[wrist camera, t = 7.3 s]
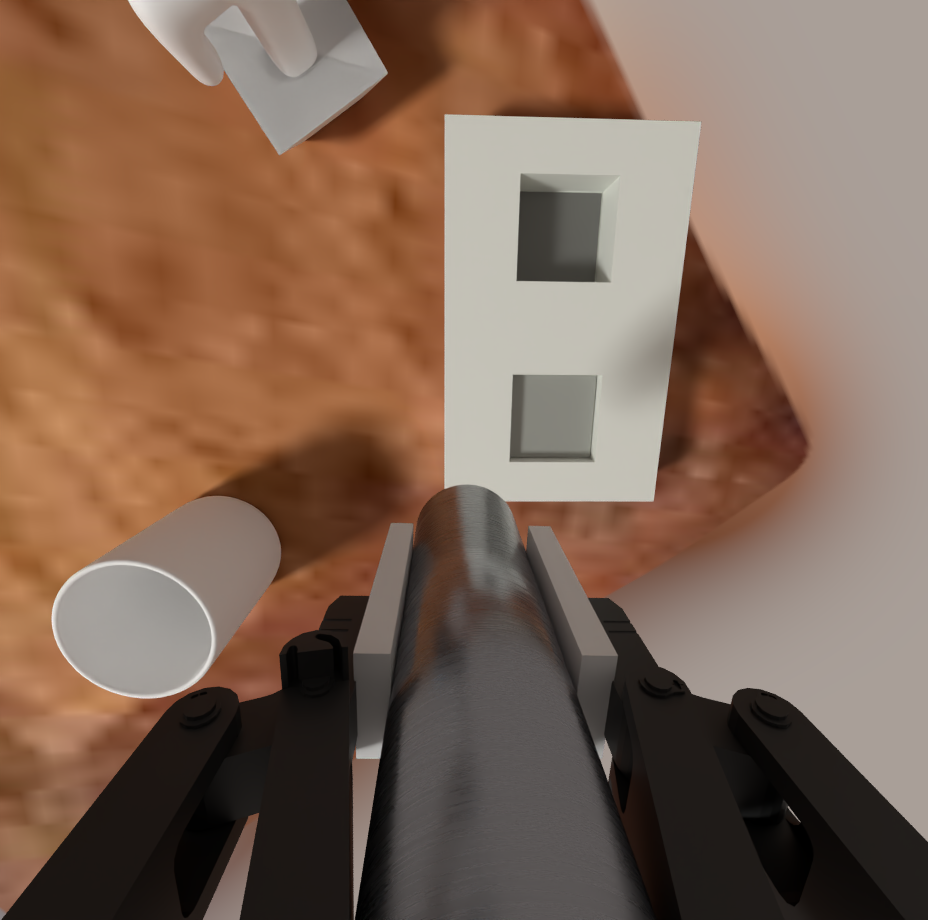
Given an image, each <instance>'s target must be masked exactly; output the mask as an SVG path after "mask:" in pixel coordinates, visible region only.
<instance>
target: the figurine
mask: <svg viewBox="0 0 928 920" xmlns="http://www.w3.org/2000/svg"><path fill="white" fill-rule="evenodd" d="M128 1H129V3H130V5H131V6H132V8H133V10H134V11H135V13H136V14H137V16H138V17H139V18H140V20H141V21H142V22H143V24H144V25H145V26H146V27H147V28H148V30H149V31H150V32H151V33H152V34H153V35H154V36H155V37H156V39H157V40H158V41H159V42H160V43H161V44H162V45H163V46H164V47H165V48H166V49H167V50H168V51H169V52H170V53H171V54H172V55H173V56H174V57H175V58H176V59H177V60H178V61H179V62H180V63H181V64H182V65H183V66H184V67H185V68H186V69H187V70H188V71H189V72H190V73H191V74H192V75H193V76H194V77H195V78H196V79H197V80H198V81H200V82H202V83H203V84H205V85H208V86H216V85H218V84H219V83H220V82H221V80H222V79H223V71H225V73H226V74H227V76H228V77H229V79H230V80H231V82H232V83H233V85H234V86H235V88H236V89H237V91H238V92H239V94H240V96H241V97H242V99H243V100H244V102H245V103H246V105H247V106H248V108H249V109H250V111H251V112H252V114H253V115H254V117H255V119H256V120H257V122H258V123H259V125H260V126H261V128H262V129H263V131H264V132H265V134H266V135H267V137H268V139H269V140H270V142H271V143H272V145H273V146H274V148H275V149H276V151H277V152H278V154H279V155H281V154H283V153H284V152H286V151H288V150H290V149H292V148H293V147H295V146H297V145H299V144H300V143H302V142H304V141H306V140H307V139H308V138H310V137H311V136H312V135H314V134H315V133H316V132H318V131H319V130H320V129H322V128H323V127H324V126H326V125H327V124H328V123H330V122H331V121H332V120H333V119H335V118H336V117H337V116H339V115H340V114H341V113H343V112H344V111H345V110H347V109H348V108H349V107H351V106H352V105H353V104H355V103H356V102H357V101H359V100H360V99H361V98H363V97H364V96H365V95H366V94H367V93H368V92H369V91H370V90H371V89H372V88H373V87H374V86H375V85H376V84H377V83H378V82H380V81H381V80H382V79H383V78H384V77H385V76H386V75H387V74H388V72H387V70H386V68H385V67H384V65H383V63H382V61H381V60H380V58H379V56H378V54H377V53H376V51H375V49H374V47H373V46H372V44H371V42H370V40H369V39H368V37H367V35H366V33H365V32H364V30H363V28H362V26H361V25H360V23H359V21H358V19H357V18H356V16H355V14H354V12H353V10H352V9H351V7H350V5H349V3H348V2H347V0H128ZM223 69H224V70H223Z"/></svg>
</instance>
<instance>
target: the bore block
mask: <svg viewBox="0 0 928 920" xmlns="http://www.w3.org/2000/svg"><path fill="white" fill-rule="evenodd" d="M700 130H701V122H698V121H662V120H661V121H660V120H626V119H590V118H554V117H517V116H481V115H445V489H446V488H449V487H452V486H456V485H466V484H469V485H477V486H481V487H484V488H487V489H489V490H491V491H493V492H494V493H496V494H497V495H499V496H500V497H501V498H502V499H503V500H504V501H654V493H655V485H656V477H657V469H658V461H659V454H660V446H661V438H662V430H663V422H664V414H665V406H666V398H667V390H668V383H669V375H670V367H671V359H672V351H673V343H674V335H675V327H676V319H677V312H678V304H679V296H680V288H681V280H682V272H683V264H684V256H685V249H686V241H687V233H688V225H689V217H690V209H691V200H692V193H693V185H694V177H695V170H696V162H697V154H698V146H699V138H700Z"/></svg>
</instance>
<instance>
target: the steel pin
mask: <svg viewBox="0 0 928 920" xmlns="http://www.w3.org/2000/svg"><path fill="white" fill-rule="evenodd" d="M355 920H657V918H656V915H655V912H654V910H653V907H652V904H651V901H650V898H649V895H648V893H647V890H646V887H645V884H644V881H643V879H642V876H641V873H640V870H639V867H638V865H637V862H636V859H635V856H634V853H633V851H632V848H631V845H630V842H629V839H628V837H627V834H626V831H625V828H624V825H623V823H622V820H621V817H620V814H619V811H618V809H617V806H616V803H615V800H614V797H613V795H612V792H611V789H610V786H609V783H608V781H607V778H606V775H605V772H604V769H603V767H602V764H601V761H600V758H599V755H598V752H597V750H596V747H595V744H594V741H593V738H592V736H591V733H590V730H589V727H588V724H587V722H586V719H585V716H584V713H583V710H582V708H581V705H580V702H579V699H578V696H577V694H576V691H575V688H574V685H573V682H572V680H571V677H570V674H569V671H568V668H567V666H566V663H565V660H564V657H563V654H562V652H561V649H560V646H559V643H558V640H557V638H556V635H555V632H554V629H553V626H552V624H551V621H550V618H549V615H548V612H547V609H546V607H545V604H544V601H543V598H542V595H541V593H540V590H539V587H538V584H537V581H536V579H535V576H534V573H533V570H532V567H531V565H530V562H529V559H528V556H527V553H526V551H525V548H524V545H523V542H522V539H521V537H520V534H519V531H518V528H517V525H516V523H515V520H514V517H513V514H512V512H511V510H510V508H509V506H508V505H507V504H506V502H505V501H504V500H503V499H502V498H501V497H500V496H499V495H497V494H496V493H494V492H493V491H491V490H489V489H487V488H484V487H481V486H477V485H469V484H466V485H456V486H452V487H449V488H446V489H444V490H442V491H440V492H439V493H437V494H436V495H434V496H433V497H432V498H431V499H430V500H429V501H428V502H427V503H426V504H425V506H424V507H423V509H422V510H421V512H420V515H419V517H418V521H417V526H416V532H415V539H414V545H413V554H412V560H411V566H410V573H409V579H408V586H407V592H406V599H405V605H404V612H403V618H402V625H401V631H400V637H399V644H398V650H397V657H396V663H395V670H394V676H393V683H392V689H391V695H390V699H389V705H388V711H387V717H386V724H385V730H384V737H383V743H382V749H381V756H380V763H379V769H378V775H377V781H376V788H375V794H374V800H373V807H372V813H371V820H370V826H369V832H368V839H367V846H366V852H365V858H364V864H363V871H362V877H361V883H360V890H359V896H358V903H357V910H356V916H355Z"/></svg>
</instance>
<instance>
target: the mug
mask: <svg viewBox="0 0 928 920" xmlns="http://www.w3.org/2000/svg"><path fill="white" fill-rule="evenodd" d="M280 560H281V545H280V541H279V537H278V535H277V532H276V530H275V528H274V526H273V525H272V523H271V522H270V521H269V519H268V518H267V517H266V516H265V515H264V514H263V513H262V512H261V511H260V510H258V509H257V508H255V507H254V506H252V505H251V504H249V503H247V502H245V501H242V500H239V499H236V498H232V497H227V496H207V497H203V498H199V499H196V500H193V501H191V502H188V503H187V504H185V505H183V506H181V507H179V508H178V509H176V510H174V511H173V512H171V513H170V514H168V515H166V516H165V517H163V518H162V519H160V520H159V521H157V522H155V523H154V524H152V525H151V526H149V527H147V528H146V529H144V530H143V531H141V532H140V533H138V534H136V535H135V536H133V537H132V538H130V539H128V540H127V541H125V542H124V543H122V544H121V545H119V546H117V547H116V548H114V549H113V550H111V551H109V552H108V553H106V554H105V555H103V556H102V557H100V558H98V559H97V560H95V561H94V562H92V563H91V564H89V565H87V566H86V567H84V568H83V569H81V570H79V571H78V572H77V573H75V574H74V575H73V576H71V577H70V578H69V579H68V580H67V581H66V583H65V584H64V585H63V586H62V588H61V589H60V591H59V592H58V594H57V597H56V599H55V601H54V605H53V609H52V628H53V632H54V637H55V639H56V642H57V644H58V647H59V648H60V650H61V652H62V654H63V655H64V657H65V658H66V659H67V661H68V662H69V663H70V664H71V665H72V666H73V667H74V669H75V670H76V671H78V672H79V673H80V674H81V675H82V676H83V677H85V678H86V679H88V680H89V681H91V682H92V683H94V684H96V685H98V686H99V687H101V688H103V689H106V690H108V691H110V692H113V693H116V694H120V695H123V696H128V697H135V698H159V697H165V696H169V695H173V694H176V693H178V692H181V691H183V690H185V689H187V688H189V687H191V686H192V685H193V684H195V683H196V682H198V681H199V680H200V679H201V678H202V677H203V676H204V675H205V673H206V672H207V671H208V669H209V668H210V667H211V665H212V664H213V663H214V661H215V660H216V658H217V657H218V656H219V654H220V653H221V652H222V650H223V649H224V647H225V646H226V645H227V643H228V642H229V641H230V639H231V638H232V636H233V635H234V634H235V632H236V631H237V629H238V628H239V627H240V625H241V624H242V623H243V621H244V620H245V618H246V617H247V616H248V614H249V613H250V612H251V610H252V609H253V607H254V606H255V605H256V603H257V602H258V600H259V599H260V598H261V596H262V595H263V594H264V592H265V591H266V589H267V588H268V587H269V585H270V584H271V582H272V580H273V579H274V577H275V575H276V573H277V571H278V568H279V565H280Z"/></svg>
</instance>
